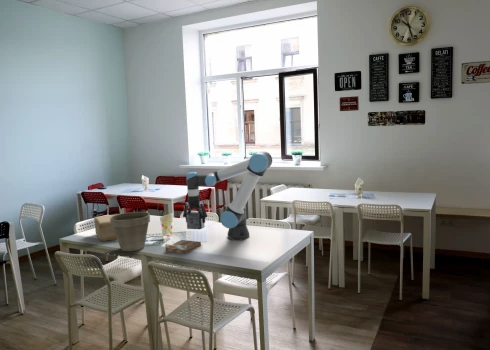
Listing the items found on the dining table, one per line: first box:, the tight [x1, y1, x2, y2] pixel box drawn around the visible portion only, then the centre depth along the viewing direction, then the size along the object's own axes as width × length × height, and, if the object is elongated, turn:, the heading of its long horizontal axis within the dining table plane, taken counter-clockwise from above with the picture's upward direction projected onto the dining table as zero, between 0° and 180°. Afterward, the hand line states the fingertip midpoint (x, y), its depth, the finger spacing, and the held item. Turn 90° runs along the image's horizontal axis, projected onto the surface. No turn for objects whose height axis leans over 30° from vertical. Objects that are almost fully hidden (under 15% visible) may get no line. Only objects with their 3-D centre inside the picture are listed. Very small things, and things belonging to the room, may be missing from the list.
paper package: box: [93, 213, 119, 242], centre depth 303 cm, size 27×26×14 cm
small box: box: [185, 211, 203, 230], centre depth 280 cm, size 11×6×10 cm, turn 65°
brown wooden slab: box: [164, 239, 202, 255], centre depth 264 cm, size 15×18×4 cm
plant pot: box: [110, 211, 151, 252], centre depth 268 cm, size 25×25×22 cm
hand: (195, 227), depth 280 cm, fingers closed on small box, 10 cm apart
